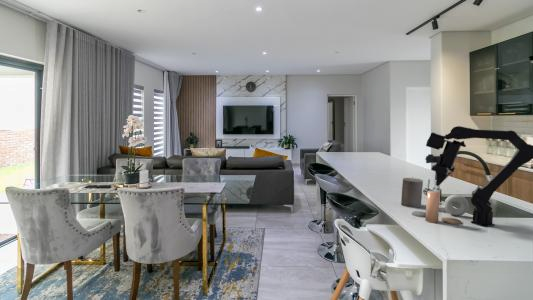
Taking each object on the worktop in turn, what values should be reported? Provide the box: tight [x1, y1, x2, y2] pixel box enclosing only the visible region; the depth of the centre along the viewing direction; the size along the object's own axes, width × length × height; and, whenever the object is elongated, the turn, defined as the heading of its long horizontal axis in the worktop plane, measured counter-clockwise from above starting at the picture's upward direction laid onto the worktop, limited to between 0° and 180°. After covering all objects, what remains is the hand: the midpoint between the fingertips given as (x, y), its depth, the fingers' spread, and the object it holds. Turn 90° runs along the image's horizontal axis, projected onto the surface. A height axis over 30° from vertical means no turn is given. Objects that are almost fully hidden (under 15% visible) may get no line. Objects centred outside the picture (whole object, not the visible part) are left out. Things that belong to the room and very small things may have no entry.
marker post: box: [425, 190, 441, 224], centre depth 143 cm, size 5×5×13 cm
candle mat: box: [411, 210, 426, 218], centre depth 153 cm, size 8×8×1 cm
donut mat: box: [440, 217, 462, 225], centre depth 143 cm, size 8×8×1 cm
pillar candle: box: [400, 176, 424, 209], centre depth 169 cm, size 10×10×15 cm
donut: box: [443, 194, 470, 217], centre depth 152 cm, size 10×4×10 cm, turn 68°
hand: (437, 185), depth 149 cm, fingers closed
